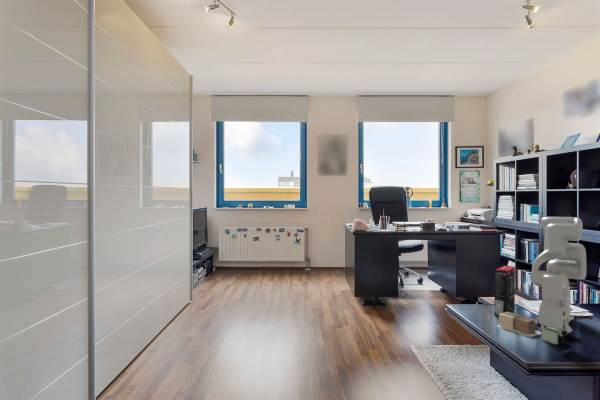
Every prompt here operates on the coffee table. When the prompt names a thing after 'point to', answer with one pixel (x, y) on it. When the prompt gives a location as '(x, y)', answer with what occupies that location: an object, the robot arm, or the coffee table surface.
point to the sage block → (550, 335)
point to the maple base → (508, 320)
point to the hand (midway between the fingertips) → (552, 341)
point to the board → (523, 333)
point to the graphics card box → (504, 290)
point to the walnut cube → (525, 325)
